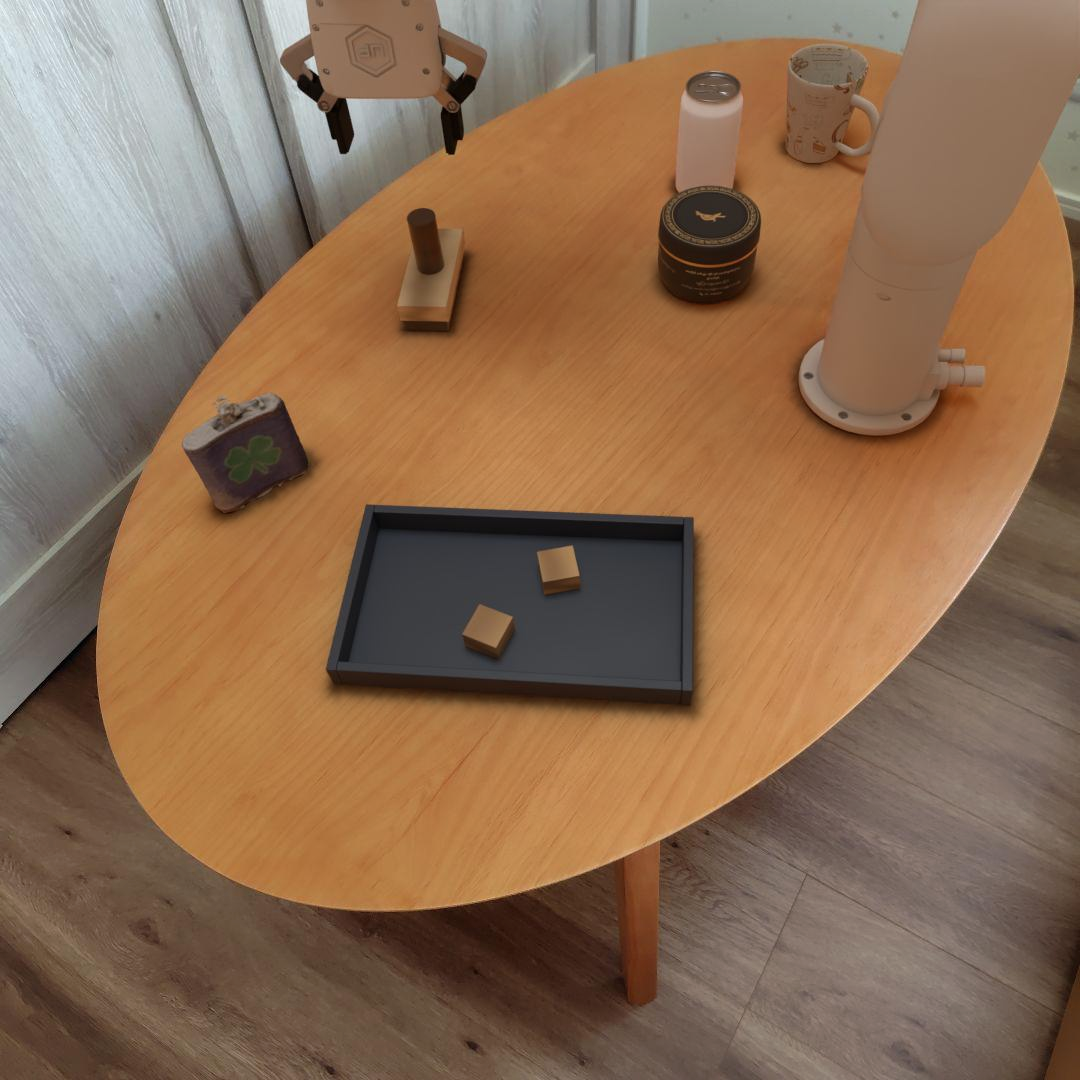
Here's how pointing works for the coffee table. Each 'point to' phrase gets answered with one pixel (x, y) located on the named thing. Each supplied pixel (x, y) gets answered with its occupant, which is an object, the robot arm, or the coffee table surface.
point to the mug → (825, 102)
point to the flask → (245, 450)
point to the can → (709, 131)
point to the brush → (430, 273)
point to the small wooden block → (488, 631)
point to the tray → (519, 604)
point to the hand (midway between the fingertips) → (400, 145)
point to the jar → (708, 243)
